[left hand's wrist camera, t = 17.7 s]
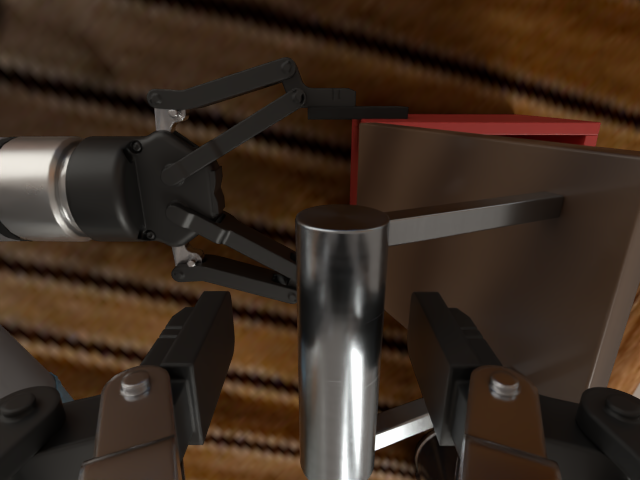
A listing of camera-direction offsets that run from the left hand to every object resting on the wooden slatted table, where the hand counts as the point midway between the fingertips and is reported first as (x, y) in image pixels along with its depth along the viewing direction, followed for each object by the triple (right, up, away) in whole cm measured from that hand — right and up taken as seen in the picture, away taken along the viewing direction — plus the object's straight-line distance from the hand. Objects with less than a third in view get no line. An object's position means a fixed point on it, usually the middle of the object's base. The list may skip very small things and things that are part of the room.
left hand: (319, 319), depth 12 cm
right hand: (+6, +6, +17) cm, 19 cm away
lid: (+6, +2, +6) cm, 9 cm away
